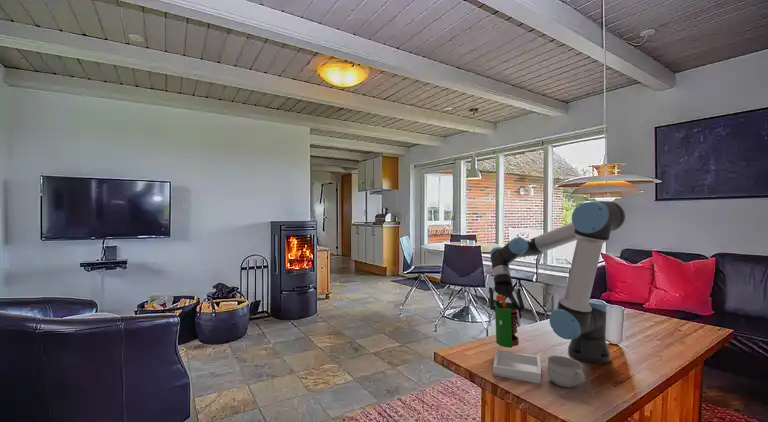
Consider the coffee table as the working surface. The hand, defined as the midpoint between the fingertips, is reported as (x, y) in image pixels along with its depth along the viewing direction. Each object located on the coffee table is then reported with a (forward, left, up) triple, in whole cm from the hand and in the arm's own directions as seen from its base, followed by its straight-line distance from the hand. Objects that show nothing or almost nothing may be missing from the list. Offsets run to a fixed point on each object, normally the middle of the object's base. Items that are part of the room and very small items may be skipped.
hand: (509, 325), depth 152 cm
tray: (-3, +12, -13) cm, 18 cm away
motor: (+1, -3, -9) cm, 10 cm away
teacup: (-20, +18, -13) cm, 30 cm away
